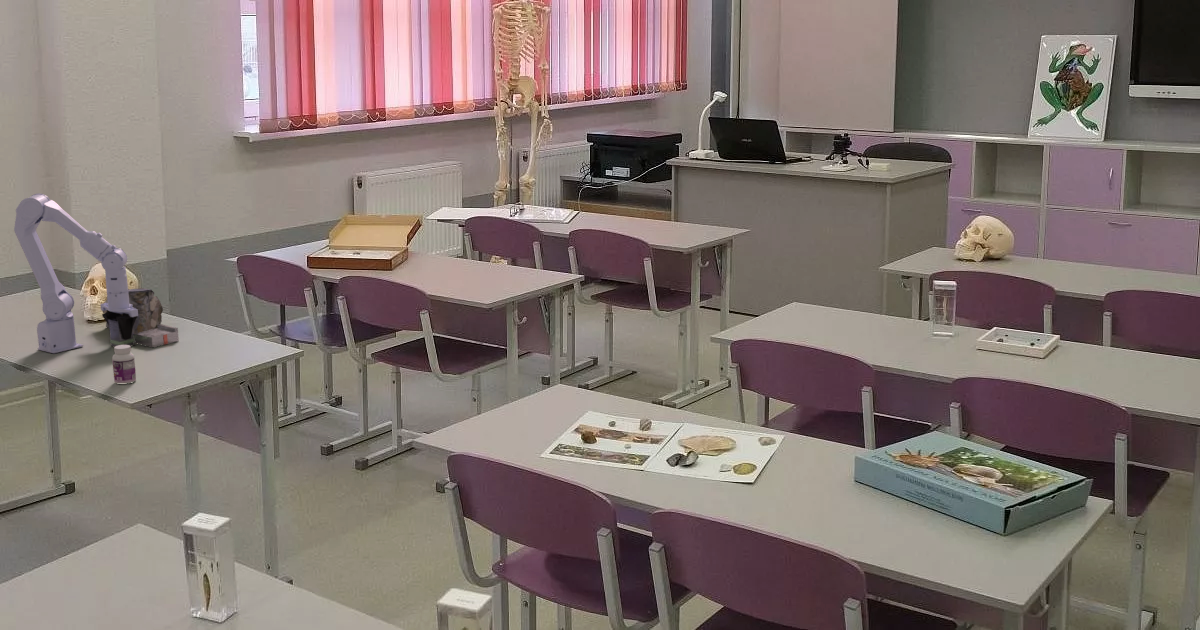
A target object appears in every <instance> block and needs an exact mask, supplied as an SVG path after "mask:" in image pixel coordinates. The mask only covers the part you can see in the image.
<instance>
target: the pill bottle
mask: <svg viewBox="0 0 1200 630" xmlns="http://www.w3.org/2000/svg"><path fill="white" fill-rule="evenodd" d="M131 347H132V346H130V345H118V346H115V347H113V350H114V351H113V352H114V354H113V355H112V357H111V360H112V361H111V362H112V371H113V380H114V384H116V383H131V382H134V381H135V382H136V381H137V374H136V373H137V372H136V362H135V355H134V354H133V353H132V348H131ZM135 382H134V383H135Z"/></svg>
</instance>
